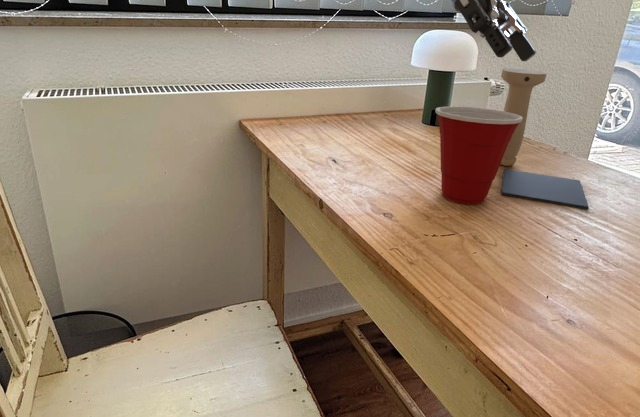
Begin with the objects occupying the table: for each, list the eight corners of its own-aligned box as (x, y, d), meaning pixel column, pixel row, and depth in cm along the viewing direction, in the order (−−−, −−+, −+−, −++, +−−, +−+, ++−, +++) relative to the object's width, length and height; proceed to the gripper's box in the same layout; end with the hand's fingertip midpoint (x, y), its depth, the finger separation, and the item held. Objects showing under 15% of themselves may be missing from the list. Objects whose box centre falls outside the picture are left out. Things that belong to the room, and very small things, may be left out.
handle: (527, 170, 79) (550, 75, 73) (487, 166, 80) (506, 72, 74) (520, 160, 83) (541, 70, 77) (482, 157, 84) (499, 67, 78)
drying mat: (579, 182, 75) (579, 180, 75) (587, 209, 65) (588, 206, 65) (503, 170, 78) (504, 168, 78) (501, 194, 69) (502, 192, 69)
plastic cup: (496, 185, 72) (513, 104, 67) (511, 216, 62) (533, 123, 57) (421, 178, 73) (433, 98, 68) (425, 207, 63) (439, 115, 58)
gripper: (458, -59, 68) (520, 32, 64) (502, -38, 78) (558, 42, 74) (419, -17, 73) (475, 70, 69) (466, -3, 83) (516, 74, 79)
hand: (518, 55), depth 72 cm, fingers open, 8 cm apart
